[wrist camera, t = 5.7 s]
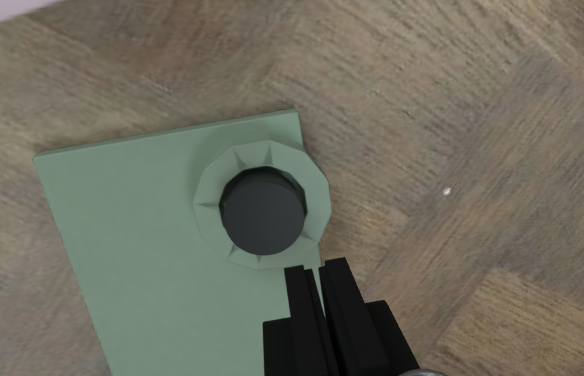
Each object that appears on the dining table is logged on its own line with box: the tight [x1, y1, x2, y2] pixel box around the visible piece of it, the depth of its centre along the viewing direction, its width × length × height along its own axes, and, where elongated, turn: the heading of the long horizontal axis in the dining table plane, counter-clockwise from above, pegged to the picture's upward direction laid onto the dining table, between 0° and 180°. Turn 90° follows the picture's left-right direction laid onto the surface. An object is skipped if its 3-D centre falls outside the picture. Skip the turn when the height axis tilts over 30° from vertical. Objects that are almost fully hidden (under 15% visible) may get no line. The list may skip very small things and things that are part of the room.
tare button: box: [224, 171, 304, 256], centre depth 20 cm, size 4×4×2 cm
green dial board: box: [32, 108, 332, 376], centre depth 23 cm, size 16×14×3 cm
